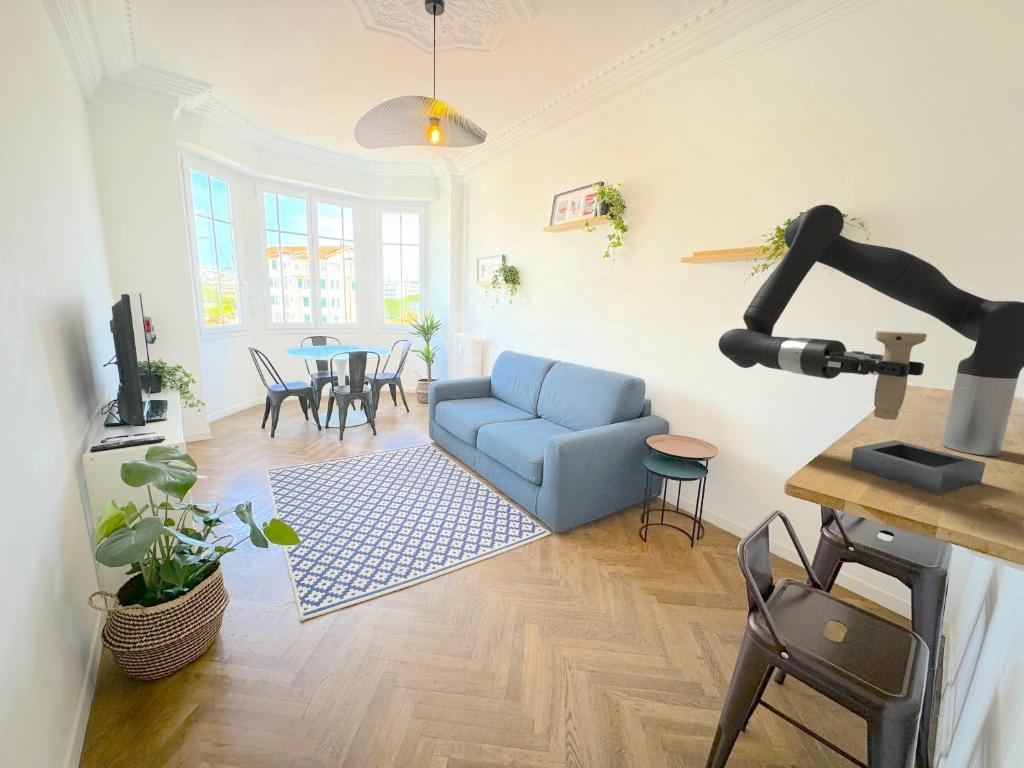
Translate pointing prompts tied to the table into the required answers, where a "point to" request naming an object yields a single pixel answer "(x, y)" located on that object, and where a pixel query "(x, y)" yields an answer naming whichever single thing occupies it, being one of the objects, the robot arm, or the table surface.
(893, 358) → the handle
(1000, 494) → the table surface
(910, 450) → the housing
